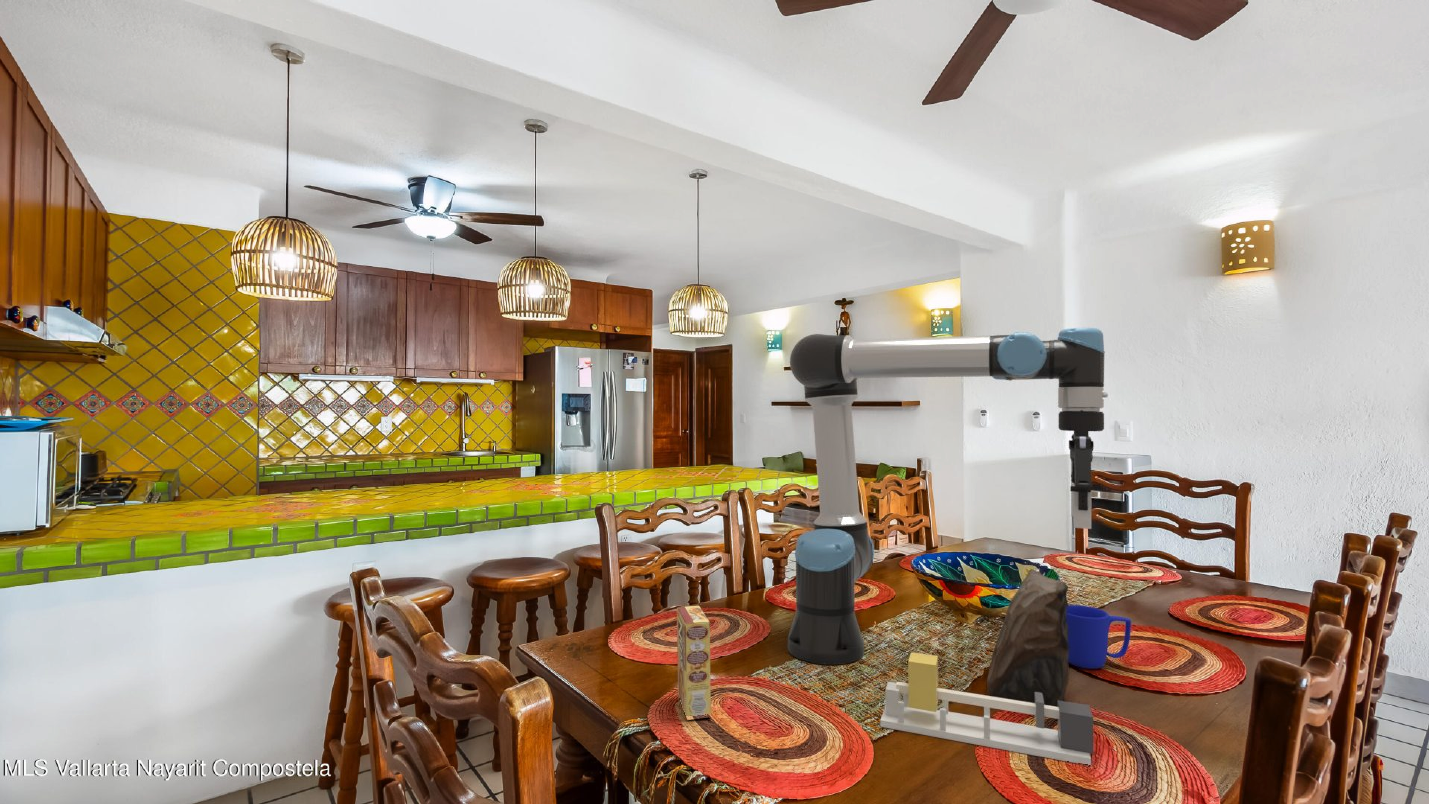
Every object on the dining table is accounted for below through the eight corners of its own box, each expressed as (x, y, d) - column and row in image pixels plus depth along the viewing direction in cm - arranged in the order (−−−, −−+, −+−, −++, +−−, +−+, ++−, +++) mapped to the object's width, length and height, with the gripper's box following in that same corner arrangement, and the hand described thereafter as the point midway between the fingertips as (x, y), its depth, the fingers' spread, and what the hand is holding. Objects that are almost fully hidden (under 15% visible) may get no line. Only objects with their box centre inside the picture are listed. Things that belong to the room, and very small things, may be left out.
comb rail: (880, 726, 98) (880, 681, 98) (887, 707, 105) (886, 665, 105) (1095, 766, 87) (1094, 716, 87) (1087, 742, 93) (1087, 695, 93)
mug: (1140, 675, 117) (1140, 620, 117) (1068, 670, 119) (1067, 616, 119) (1121, 658, 125) (1121, 607, 125) (1054, 654, 127) (1053, 603, 127)
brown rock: (1022, 674, 117) (1021, 565, 118) (1095, 700, 107) (1094, 579, 107) (982, 692, 110) (981, 575, 110) (1056, 721, 100) (1055, 592, 100)
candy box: (712, 719, 101) (711, 621, 101) (685, 722, 100) (685, 623, 100) (700, 695, 109) (700, 604, 109) (675, 697, 108) (675, 606, 108)
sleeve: (908, 707, 98) (908, 661, 98) (911, 696, 102) (911, 652, 102) (936, 712, 96) (935, 665, 96) (938, 701, 100) (937, 655, 100)
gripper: (1109, 410, 109) (1109, 535, 109) (1099, 410, 131) (1099, 514, 131) (1059, 409, 112) (1059, 531, 112) (1057, 410, 135) (1057, 511, 134)
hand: (1080, 522), depth 121 cm, fingers open, 13 cm apart
